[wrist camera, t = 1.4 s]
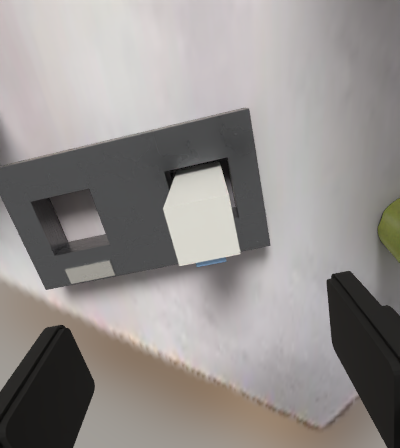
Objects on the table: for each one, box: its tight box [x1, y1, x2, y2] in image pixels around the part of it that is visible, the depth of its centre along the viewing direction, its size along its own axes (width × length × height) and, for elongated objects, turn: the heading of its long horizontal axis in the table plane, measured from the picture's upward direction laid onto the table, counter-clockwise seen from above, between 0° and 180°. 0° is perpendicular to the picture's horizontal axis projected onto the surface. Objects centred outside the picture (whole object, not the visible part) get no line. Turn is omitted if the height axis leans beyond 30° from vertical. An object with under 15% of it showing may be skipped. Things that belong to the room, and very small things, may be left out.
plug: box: [163, 161, 241, 267], centre depth 24 cm, size 4×5×11 cm
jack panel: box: [0, 108, 270, 290], centre depth 28 cm, size 22×12×3 cm, turn 103°
